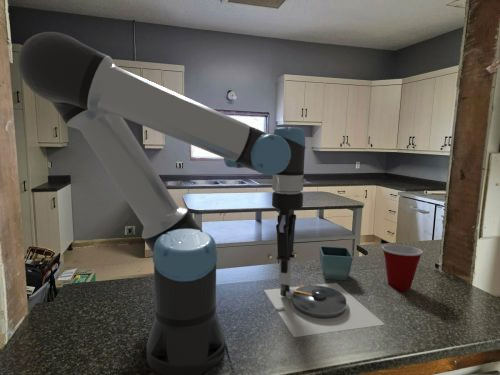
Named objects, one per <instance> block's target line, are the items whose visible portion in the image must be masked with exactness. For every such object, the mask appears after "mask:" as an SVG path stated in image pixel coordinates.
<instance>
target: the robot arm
mask: <svg viewBox="0 0 500 375" xmlns="http://www.w3.org/2000/svg"><path fill="white" fill-rule="evenodd" d="M18 52H19V53H18V57H17V65H18V70H19V74H20V76H21V78H22V81H24V84H25V85H26V86H27V87H28V88H29V89H30V90H31V91H32V92H33V93H35V94H36V95H37V96H38V97H39V98H42V99H44V100H47V101H49V102H50V103H52V105H53V107H54V108H55V109H56V111H57V112H58V115H60V117H61V118H62V120H63V122H64V123H65V125H66V126H67V127H70V128H73V129H75V130H79V131H80V132H81V134H82V136H83V137H84V139H85V140H86V142H87V143H88V144H89V146H90V148H91V149H92V150H93V153H95V156H97V158H98V160H99V161H100V163H101V164H102V166H103V167H104V168H105V170H106V172H107V174H109V176H110V178H111V179H112V181H113V182H114V184H115V185H116V187H117V189H118V190H119V191H120V193H121V194H122V196H123V197H124V199H125V200H126V202H127V204H128V205H129V207H130V208H131V210H132V211H133V213H134V214H135V215H136V217H137V219H138V220H139V222H140V223H141V225H142V226H143V229H142V233H141V237H142V239H143V241H144V242H145V244H146V245H147V247H148V248H149V250H150V251H151V253H152V262H153V276H154V277H153V278H154V280H153V281H154V316H155V317H154V321H153V323H152V327H151V330H150V333H149V336H148V339H147V343H146V348H145V349H146V360H147V361H146V362H147V364H148V366H149V367H150V369H151V370H153V371H154V372H155V373H157V374H159V375H202V374H204V373H205V372H208V371H209V370H211V369H213V368H215V367H216V366H217V365H218V364H219V363H220V361H221V360H222V358H223V357H224V354H225V347H226V346H225V345H226V344H225V335H224V331H223V329H222V325H221V323H220V321H219V317H218V314H217V261H218V252H217V251H218V250H217V243H216V241H215V239H214V237H213V236H212V235H211V234H209V233H208V232H206V231H203V230H202V228H201V227H200V226H199V225H198V223H197V222H196V221H195V219H194V217H193V216H192V214H191V213H190V211H189V210H188V208H187V207H184V206H179V205H178V204H177V203H176V201H175V199H174V198H173V196H172V195H171V193H170V191H169V190H168V189H167V186H165V183H164V181H163V180H162V179H161V177H160V175H159V174H158V172H157V170H156V169H155V167H154V166H153V164H152V162H151V161H150V158H148V156H147V154H146V153H145V151H144V150H143V148H142V146H141V145H140V143H139V141H138V139H137V138H136V137H135V135H134V134H133V132H132V130H131V129H130V127H129V125H128V123H127V122H126V121H125V120H128V121H131V122H133V123H135V124H138V125H141V126H142V127H146V128H148V129H151V130H153V131H155V132H159V133H161V134H163V135H166V136H168V137H170V138H174V139H176V140H178V141H181V142H184V143H186V144H189V145H191V146H194V147H196V148H199V149H201V150H203V151H207V152H209V153H211V154H214V155H216V156H218V157H222V158H223V161H224V164H225V166H226V167H227V168H234V169H235V168H236V169H241V168H245V169H249V170H253V171H255V172H258V173H260V174H262V175H265V176H272V183H271V184H272V188H271V189H272V190H273V192H272V196H271V197H272V198H271V199H272V200H271V206H272V207H273V208H275V209H278V210H279V215H277V220H276V221H277V224H276V226H275V229H276V244H277V247H276V248H277V256H276V260H279V266H278V267H279V272H278V284H279V285H281V284H285V285H290V286H291V282H292V280H291V278H292V259H295V254H293V252H294V243H295V242H294V241H295V232H296V231H295V228H296V220H297V214H295V211H297V210H301V209H302V208H303V204H304V194H303V190H304V183H307V179H306V178H304V174H305V171H304V170H305V153H306V132H305V130H304V129H303V128H300V127H292V126H291V127H288V126H287V127H282V126H281V127H275V129H274V130H273V133H271V132H270V133H267V132H264V131H262V130H260V129H258V128H256V127H253V126H251V125H249V124H247V123H244V122H242V121H241V120H238V119H236V118H233V117H231V116H229V115H227V114H224V113H222V112H220V111H217V110H216V109H213V108H211V107H208V106H206V105H204V104H202V103H200V102H197V101H195V100H194V99H190V98H188V97H186V96H184V95H181V94H179V93H177V92H175V91H172V90H170V89H168V88H166V87H163V86H161V85H159V84H156V83H154V82H152V81H149V80H148V79H146V78H143V77H141V76H138V75H137V74H134V73H132V72H129V70H128V71H127V70H125V69H123V68H120V67H119V66H116V65H115V63H114V61H113V59H112V57H111V56H110V55H107V54H105V53H103V52H100V51H98V50H96V49H94V48H92V47H90V46H89V45H87V44H85V43H83V42H81V41H79V40H77V39H76V38H74V37H72V36H70V35H68V34H65V33H62V32H57V31H44V32H40V33H37V34H34V35H32V36H31V37H29V38H27V39H26V41H25V42H24V43H23V45H22V46H21V48H20V50H19V51H18Z"/></svg>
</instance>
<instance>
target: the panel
mask: <svg viewBox="0 0 500 375" xmlns="http://www.w3.org/2000/svg"><path fill="white" fill-rule="evenodd" d="M316 285H317V286H324V287H329V288H332V289H334V290H337V291H338V292H340V293H342V294H343V295H344V296H345V298H346V310H345V312H344V313H343V314H342V315H341V316H339V317H335V318H328V319H323V318H315V317H311V316H307V315H305V314H303V313H301V312H299V311H298V310H297V309H296V308H295V307H294V306H293V298H290V297H284V296H281V295H280V288H281V287H280V288H272V289H263V291H264V292H265V294H266V296H267V297H268V299H269V301H270V302H271V303H272V305H273V307H274V309H275V310H276V311H277V314H279V316H280V318H281V319H282V321H283V322H284V324H285V326H286V327H287V329H288V331H289V332H290V333H291V336H292V337H293V338H298V337H306V336H314V335H320V334H327V333H335V332H342V331H343V332H344V331H348V330H355V329H356V330H358V329H363V328H370V327H371V328H372V327H380V326H385V323H384V322H383V321H381V320H380V319H379V318H378V317H377V316H376V315H375V314H374V313H373V312H371V311H370V310H369V309H368V308H367V307H365V306H364V304H362V303H361V302H359V301H358V300H357V299H356V298H355V297H353V296H352V295H351V293H349V292H347V290H345V289H344V288H343V287H342V286H341V285H339V283H337V282H333V283H331V282H330V283H321V284H316ZM303 286H304V285H303V284H300V285H299V286H290V289H294V290H296V289H297V288H300V287H303Z"/></svg>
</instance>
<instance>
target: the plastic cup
mask: <svg viewBox="0 0 500 375" xmlns="http://www.w3.org/2000/svg"><path fill="white" fill-rule="evenodd" d="M381 250H382V252H383V257H384V261H385V269H386V277H387V285H388V286H389V287H390V288H392V289H394V290H395V291H397V292H401V293H407V292H409V291H410V289H411V287H412V284H413V281H414V280H415V279H414V278H415V275H416V271H417V267H418V264H419V262H420V259H421V256H422V255H423V252H424V251H423V250H422V249H420V248H417V247H414V246H409V245H404V244H385V245H382V246H381Z"/></svg>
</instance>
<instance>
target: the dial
mask: <svg viewBox="0 0 500 375" xmlns="http://www.w3.org/2000/svg"><path fill="white" fill-rule="evenodd" d="M317 285H318V284H311V285H303V287H300V286H299V287H300V288H297V289H296V290H294V289H290V287H291V284H290V285H285V284H280V295H281V296H284V297H290V298H293V306H294V307H295V308H296V309H297V310H298V311H299V312H301V313H303V314H305V315H307V316H311V317H315V318H323V319H328V318H335V317H339V316H341V315H342V314H343V313H344V312H345V310H346V298H345V296H344V295H343V294H342V293H340V292H338V291H337V290H334V289H332V288H329V287H324V286H317Z"/></svg>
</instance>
